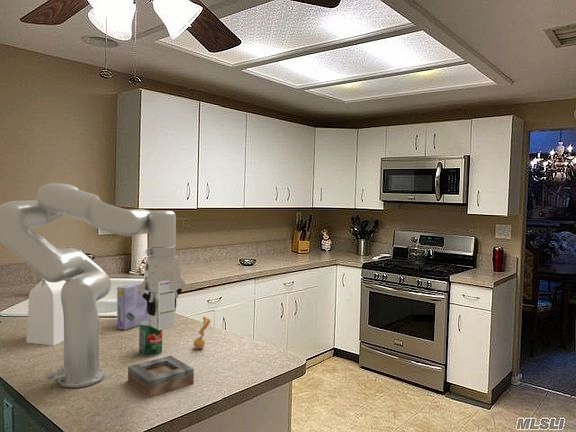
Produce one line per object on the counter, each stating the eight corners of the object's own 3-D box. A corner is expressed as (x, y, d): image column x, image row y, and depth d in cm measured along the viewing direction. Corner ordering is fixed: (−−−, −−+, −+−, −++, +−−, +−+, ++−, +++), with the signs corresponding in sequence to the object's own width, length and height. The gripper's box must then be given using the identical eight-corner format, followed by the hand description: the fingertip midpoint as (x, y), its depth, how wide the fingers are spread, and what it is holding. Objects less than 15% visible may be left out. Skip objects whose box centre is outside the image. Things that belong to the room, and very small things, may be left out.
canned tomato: (155, 357, 152) (156, 326, 151) (134, 355, 153) (134, 324, 153) (166, 349, 160) (166, 319, 159) (145, 347, 161) (146, 318, 160)
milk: (53, 345, 161) (53, 274, 160) (26, 342, 163) (26, 272, 162) (75, 335, 173) (75, 269, 172) (50, 332, 175) (50, 267, 174)
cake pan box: (148, 318, 199) (149, 279, 198) (157, 319, 197) (157, 280, 196) (115, 329, 182) (115, 286, 181) (124, 331, 180) (125, 288, 179)
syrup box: (175, 327, 131) (176, 278, 131) (157, 331, 127) (158, 281, 126) (165, 322, 135) (165, 275, 135) (147, 326, 131) (148, 278, 130)
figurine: (197, 344, 166) (198, 312, 165) (213, 345, 165) (213, 313, 165) (190, 352, 158) (190, 319, 157) (206, 353, 157) (207, 319, 156)
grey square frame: (149, 397, 122) (149, 381, 122) (127, 381, 132) (128, 366, 132) (193, 383, 132) (193, 368, 131) (170, 369, 142) (170, 355, 142)
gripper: (140, 256, 122) (139, 320, 122) (194, 251, 133) (193, 310, 134) (128, 253, 127) (128, 315, 128) (182, 249, 139) (181, 305, 140)
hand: (161, 312), depth 131 cm, fingers closed on syrup box, 5 cm apart
